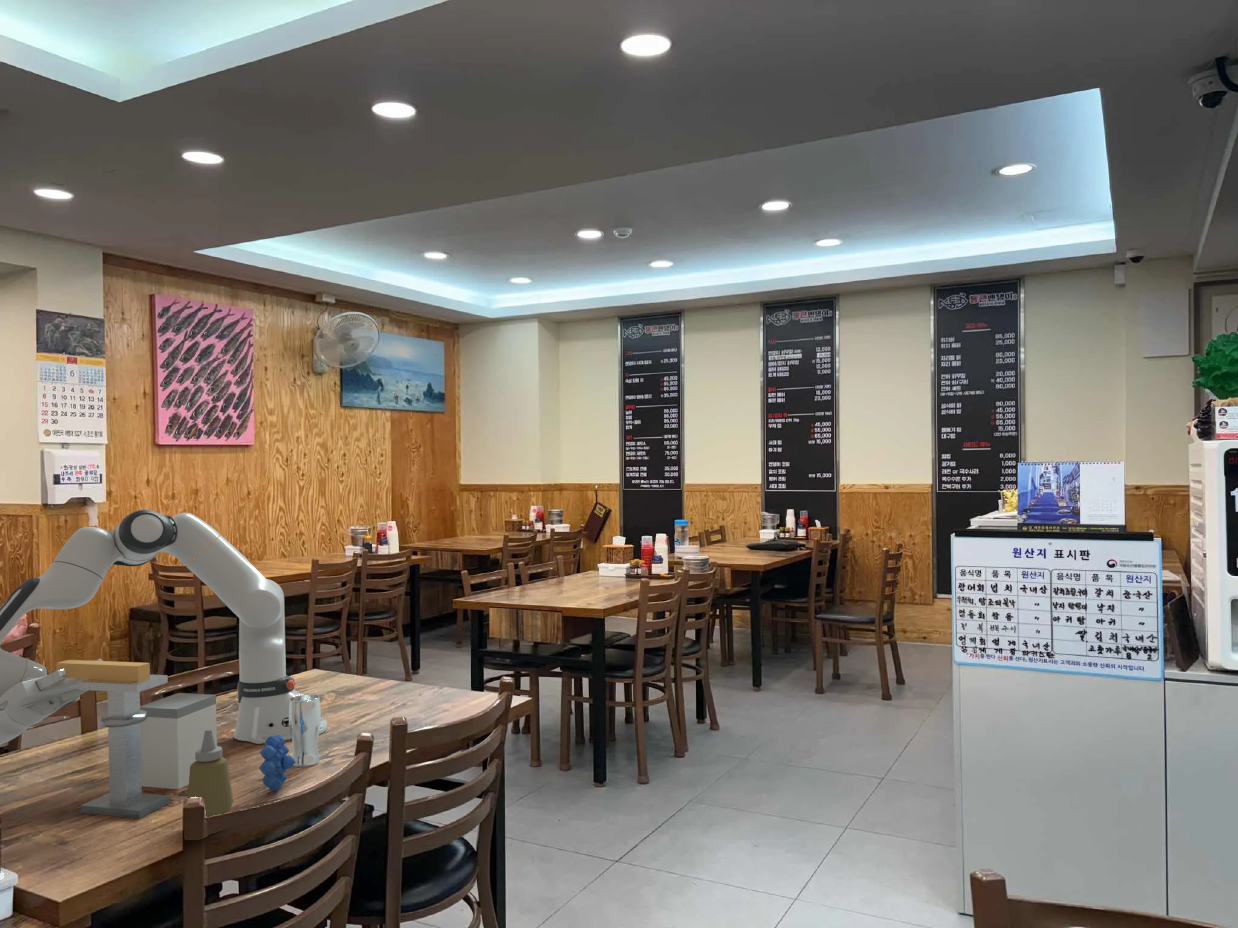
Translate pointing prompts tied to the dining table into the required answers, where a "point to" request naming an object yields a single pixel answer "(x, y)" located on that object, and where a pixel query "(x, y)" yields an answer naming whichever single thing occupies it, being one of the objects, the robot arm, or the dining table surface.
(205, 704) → the white lidded box
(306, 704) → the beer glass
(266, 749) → the grapes
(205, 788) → the squeeze bottle
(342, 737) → the dining table surface
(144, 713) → the post
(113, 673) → the bracket bar
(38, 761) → the dining table surface
